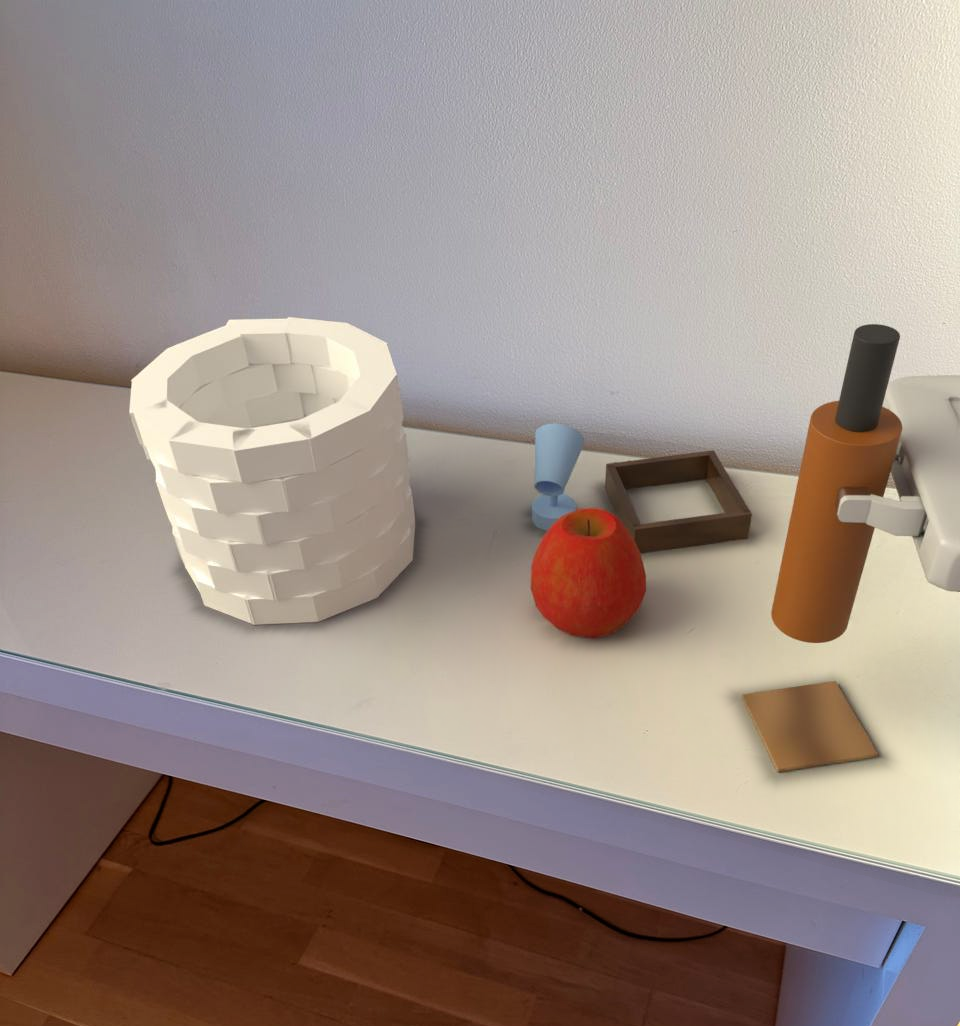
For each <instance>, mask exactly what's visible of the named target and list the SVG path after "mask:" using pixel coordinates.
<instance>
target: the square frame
mask: <svg viewBox="0 0 960 1026" xmlns="http://www.w3.org/2000/svg"><path fill="white" fill-rule="evenodd" d="M604 479H605V480H604V481H605V482H604V488H605V491H606V493H607V496H608V499H609V500H610V502H611V505H612V508H613V510H614V512H615V515H616V516H617V517H618V518H619V519H620V521H621V522H622V523H623V524H624V526H625V527H626V528H627V529H628V531H629V532H630V534H631V536H632V537H633V539H634V541H635V543H636V545H637V547H638V549H639V551H640V553H641V554H644V553H651V552H652V553H653V552H660V551H668V550H673V549H681V548H689V547H695V546H703V545H710V544H711V545H712V544H718V543H725V542H733V541H741V540H748V539H749V535H750V531H751V530H750V529H751V524H752V518H753V513H752V511H751V510H750V508H749V506H748V504H747V503H746V501H745V500H744V498H743V496H742V495H741V493H740V491H739V489H738V488H737V486H736V485H735V483H734V481H733V480H732V478H731V477H730V475H729V473H728V471H727V469H726V468H725V467H724V465H723V463H722V461H721V460H720V458H719V457H718V455H717V453H716V452H715V450H713V449H712V450H711V449H710V450H704V451H703V450H702V451H696V452H689V453H687V452H686V453H681V454H671V455H666V456H656V457H649V458H641V459H633V460H626V461H618V462H617V461H616V462H610V463H609V462H608V463H606V464H605V478H604ZM699 480H706V482H707V484H708V486H709V487H710V488H711V490H712V492H713V494H714V496H715V498H716V499H717V501H718V502H719V504H720V507H721V508H722V510H723V511H724V512H720V513H713V514H705V515H698V516H697V515H696V516H690V517H689V516H688V517H682V518H675V519H674V518H673V519H668V520H661V521H653V522H645V523H641V521H640V519H639V517H638V514H637V512H636V510H635V508H634V505H633V503H632V501H631V499H630V497H629V495H628V491H627V490H631V489H638V488H645V487H646V488H647V487H651V486H652V487H653V486H660V485H668V484H676V483H677V484H678V483H684V482H691V481H699Z"/></svg>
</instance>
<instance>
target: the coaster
mask: <svg viewBox="0 0 960 1026" xmlns="http://www.w3.org/2000/svg"><path fill="white" fill-rule="evenodd" d="M741 699H742V701H743V703H744V705H745V707H746V710H747V711H748V714H749V716H750V718H751V720H752V722H753V725H754V727H755V728H756V730H757V733H758V735H759V737H760V739H761V741H762V743H763V746H764V747H765V749H766V751H767V753H768V756H769V758H770V759H771V762H772V764H773V766H774V768H775V770H776V772H777V773H782V772H788V771H789V772H790V771H795V770H801V769H808V768H814V767H815V768H816V767H821V766H828V765H835V764H842V763H848V762H853V761H861V760H866V759H873V758H878V755H879V753H878V751H877V750H876V748H875V746H874V744H873V743H872V741H871V739H870V737H869V735H868V734H867V733H866V731H865V729H864V727H863V726H862V723H861V722H860V720H859V719H858V717H857V715H856V713H855V711H854V710H853V709H852V707H851V705H850V703H849V702H848V700H847V698H846V696H845V695H844V693H843V691H842V690H841V688H840V686H839V684H838V683H837V681H836V680H833V681H826V682H825V681H824V682H819V683H812V684H804V685H798V686H791V687H785V688H778V689H770V690H763V691H757V692H750V693H743V694H742V695H741Z"/></svg>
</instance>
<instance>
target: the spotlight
mask: <svg viewBox="0 0 960 1026" xmlns="http://www.w3.org/2000/svg"><path fill="white" fill-rule="evenodd" d="M584 445H585V437H584V435H583V434H582V432H580V431H579V430H577V429H576V428H574V427H572V426H571V425H566V424H563V423H547V424H543V425H541V426H539V427H538V428H537V429H536V431H535V432H534V489H535V491H537V492H538V493H539V494H541V495H539V496H537V497H536V498H534V500H533V501H532V503H531V521H532V523H533V525H534V526H535V527H537V528H538V529H539V530H542V531H546V532H547V531H548V530H549V528H550V527H551V526H552V525H553V524H554V523H555V522H556V521H557V520H558V519H559V518H560V517H561V516H563V515H566V514H568V513H570V512H573V511H575V510H577V503H576V501H575V499H574V498H573V497H571V496H570V495H568V494H566V493H564V492H565V490H566V487H567V485H568V482H569V480H570V478H571V475H572V473H573V472H574V468H575V467H576V464H577V462H578V459H579V456H580V454H581V452H582V449H583V447H584Z"/></svg>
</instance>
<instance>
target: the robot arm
mask: <svg viewBox="0 0 960 1026" xmlns="http://www.w3.org/2000/svg"><path fill="white" fill-rule="evenodd" d="M882 407H884V408H887V409H888V410H890V411H892V412H893V413H894V414H895V415H897V416H898V418H899V419H900V421H901V423H902V432H901V436H900V439H899V443H898V446H897V450H896V454H895V457H894V461H893V464H892V468H891V471H890V475H891V477H892V480H893V484H894V487H895V490H896V492H897V495H898V498H899V500H896V499H893V498H889V497H885V496H884V497H880V496H876V495H872V494H871V495H870V493H869V490H868V487H856V488H852V487H843V488H841V489H840V490H839V491H838V494H837V500H836V503H835V505H836V510H837V515H838V519H839V520H840V521H841V522H853V523H866V524H867V525H870V526H872V527H875V529H878V530H880V531H883V532H886V533H888V534H890V535H893V536H895V537H912V541H913V543H914V546H915V549H916V553H917V555H918V559H919V562H920V564H921V568H922V571H923V573H924V577H925V579H926V581H927V583H929V584H931V585H933V586H934V587H937V588H939V589H942V590H944V591H947V592H954V593H957V592H958V593H960V374H953V375H952V374H951V375H950V374H948V375H947V374H944V375H943V374H942V375H913V376H912V375H911V376H902V377H899V378H896V379H893V380H891V381H889V382H888V386H887V390H886V394H885V398H884V402H883V405H882Z"/></svg>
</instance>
